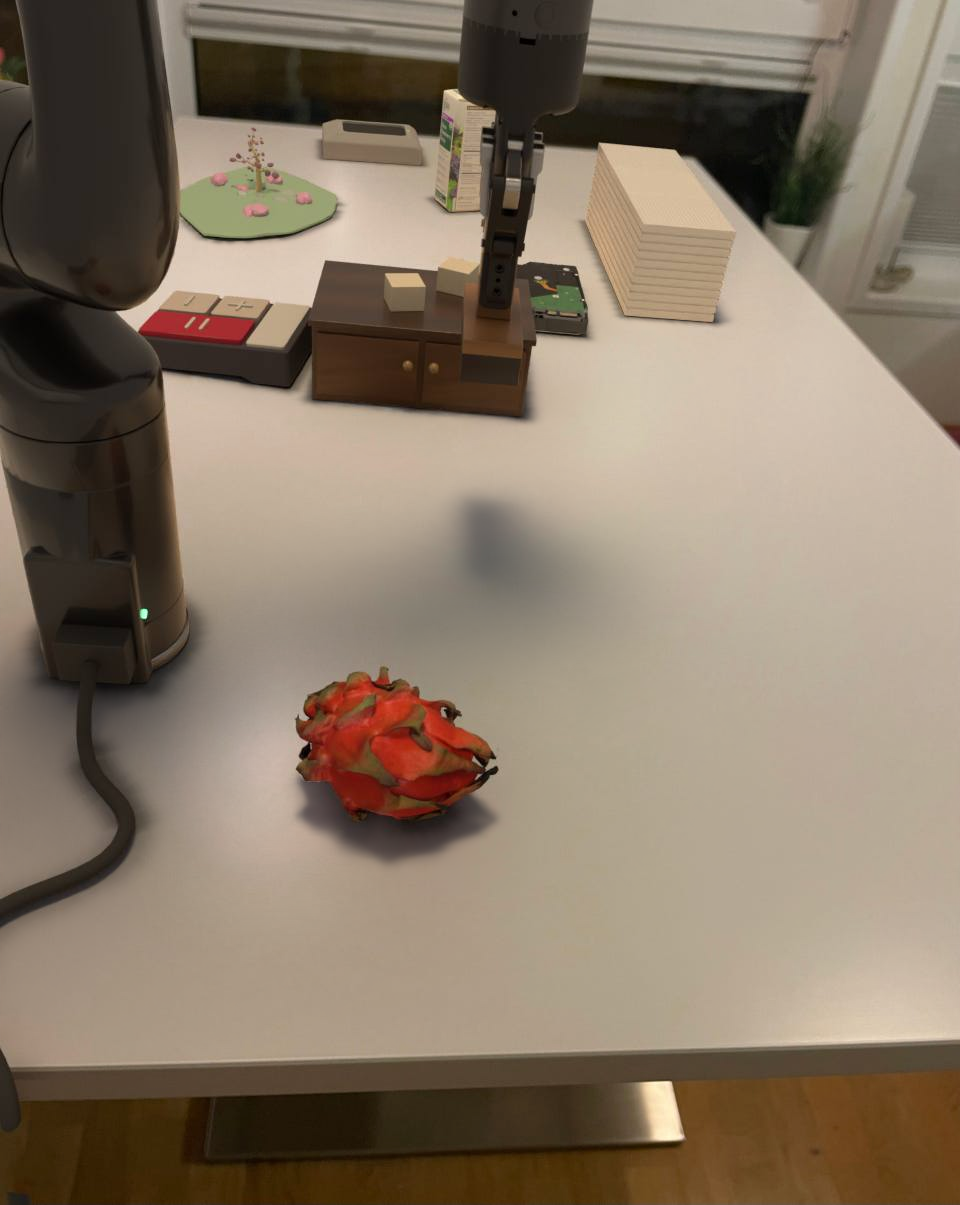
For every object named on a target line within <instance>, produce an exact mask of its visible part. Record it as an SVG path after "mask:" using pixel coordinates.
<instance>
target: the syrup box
mask: <svg viewBox="0 0 960 1205" xmlns="http://www.w3.org/2000/svg"><path fill="white" fill-rule="evenodd" d="M495 115H496V111H495V110H494V109H492V108H482V107H479V106H477V105H474V104H472V103H470V102H468V101H467V100H465V99H464V98H463V97H462V96H461V95H460V93H459V91H458V88H452V89H444V90H443V97H442V108H441V119H440V131H439V142H438V152H437V162H436V175H435V186H434V187H435V188H434V201H437V202H438V203H439V204H440V205H441V206H443V208H445V209H446V210H447V211H448V212H449V213H452V212H454V213H455V212H456V213H457V212H474V211H475V212H476V211H480V209H479V203H480V196H479V192H480V178H481V169H482V167H481V165H480V141H481V131H482V126H488V127H491V124H492V122H495Z"/></svg>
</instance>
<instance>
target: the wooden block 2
mask: <svg viewBox="0 0 960 1205" xmlns="http://www.w3.org/2000/svg"><path fill="white" fill-rule="evenodd" d="M479 269H480V262H475V261H470V260H466V259H462V258H457V257H453V256H449V257H448V258H446V259H445V260H444V261H443V262H441V264H440V265H438V266H437V271H438V274H437V287H436V291H440V292H444V293H449V294H453V295H457V296H461V297H464V290H465V283H475V284H478V277H479Z"/></svg>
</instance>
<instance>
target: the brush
mask: <svg viewBox="0 0 960 1205" xmlns="http://www.w3.org/2000/svg"><path fill="white" fill-rule="evenodd" d="M485 221H486V219H485ZM484 231H485V222H484ZM482 233H483V234H482V239H484V232H483V231H482ZM494 234H504V235H513V236H514V231H510V230H501V229H497V230H495V231H494ZM480 251H481V252H480V260H479V264H480V267H479V279H478V284H475V283H465V290H464V300H463V310H462V320H461V349H460V377H459V380H460V381H467V382H478V383H488V384H499V385H509V386H518V381H519V373H520V366H521V358H522V352H523V336H522V323H521V310H520V297H519V288H514V287H515V279H516V271H517V264H518V263H519V257H517V262H516V270H515V277H514V285H513V293H512V301H511V305H510V307H509V308H508V309H505V310H502V309H492V308H484V307H482V306H481V305H480V304H479V291H480V282H481V273H482V263H483V254H484V253H483V247H481V250H480Z"/></svg>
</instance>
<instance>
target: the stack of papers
mask: <svg viewBox="0 0 960 1205" xmlns="http://www.w3.org/2000/svg"><path fill="white" fill-rule="evenodd" d="M592 175H593V176H592V182H591V188H590V194H589V200H588V201H589V202H588V205H587V208H588V209H587V211H586V217H585V225H586V227H587V230H588V232H589V234H590V236H591V239H592V241H593V244H594V246H595V248H596V251H597V253H598V256H599V258H600V261H601V262H602V265H603V267H604V269H605V273H606V275H607V276H608V279H609V281H610V284H611V286H612V289H613V291H614V293H615V295H616V298H617V300H618V302H619V305H620V306H621V307H620V308H621V309H622V312H623V314H624V316H628V317H639V318H642V317H643V318H653V319H654V318H655V319H665V320H666V319H667V320H681V321H693V322H694V321H695V322H705V323H706V322H707V323H713V322H714V319H715V314H716V311H717V306H718V303H719V298H720V297H721V296H720V295H721V290H722V288H723V282H724V280H725V277H726V273H727V269H728V264H729V261H730V257H731V254H732V248H733V246H734V243H735V241H734V240H735V238H736V235H737V231H736V229H735V228H734V227H733V225H732V224H731V223H730V221H729V220H728V219H727V217H726V216H725V215H724V213H723V212H722V210H721V209H720V208H719V206H718V205H717V204H716V202H715V201H714V200H713V199H712V197H711V196H710V194H709V193H708V192H707V190H706V189H705V188H704V186H703V185H702V184H701V182H700V181H699V179H698V178H697V177H696V176H695V175H694V173H693V171H692V170H691V169H690V168H689V166H688V165H687V164H686V162H685V161H684V160H683V158H682V156H680V154H679V153H678V151H677V150H676V149H668V148H658V147H649V146H639V145H638V146H637V145H627V144H618V143H617V144H616V143H607V142H598V145H597V151H596V159H595V166H594V169H593V174H592Z"/></svg>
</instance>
